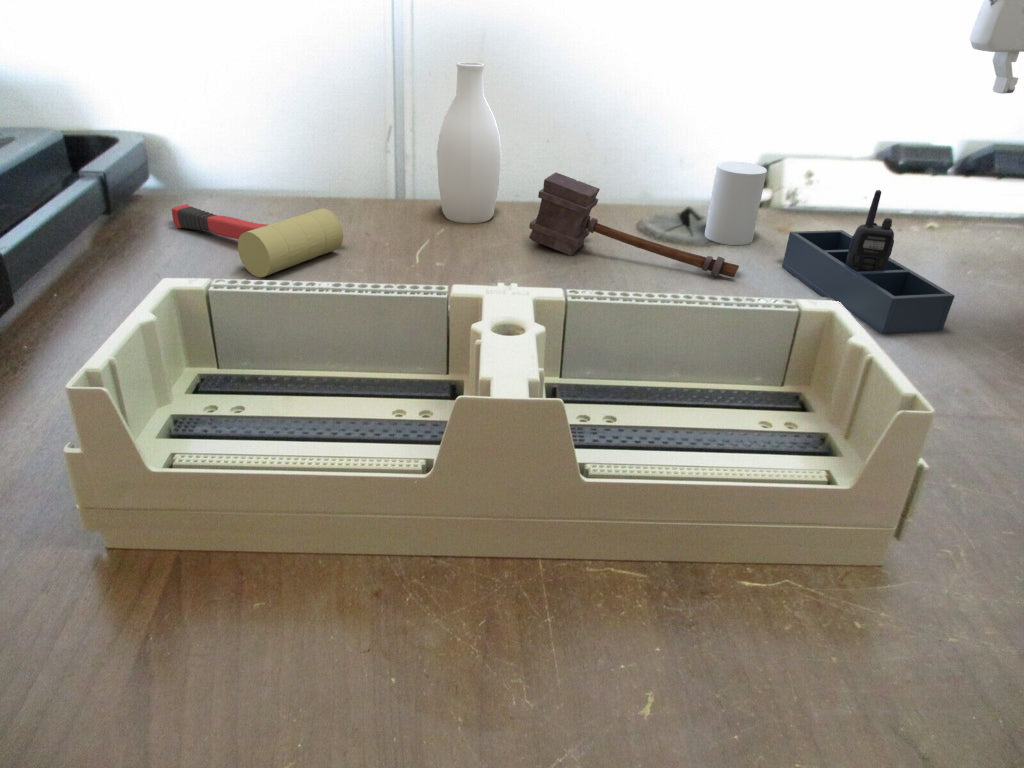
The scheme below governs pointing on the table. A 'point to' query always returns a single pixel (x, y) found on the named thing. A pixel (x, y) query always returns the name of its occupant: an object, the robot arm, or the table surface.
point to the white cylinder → (735, 202)
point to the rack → (867, 284)
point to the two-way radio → (871, 242)
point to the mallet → (269, 237)
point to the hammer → (596, 225)
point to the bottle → (469, 151)
